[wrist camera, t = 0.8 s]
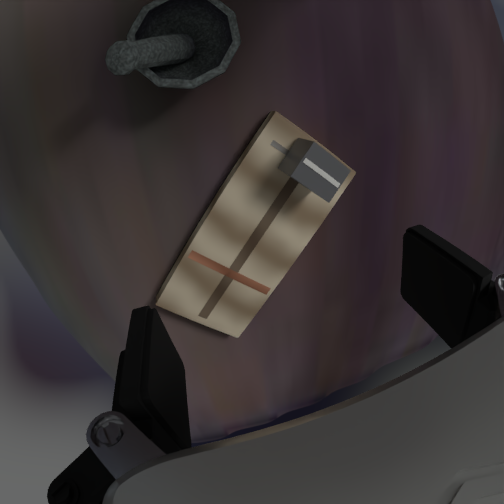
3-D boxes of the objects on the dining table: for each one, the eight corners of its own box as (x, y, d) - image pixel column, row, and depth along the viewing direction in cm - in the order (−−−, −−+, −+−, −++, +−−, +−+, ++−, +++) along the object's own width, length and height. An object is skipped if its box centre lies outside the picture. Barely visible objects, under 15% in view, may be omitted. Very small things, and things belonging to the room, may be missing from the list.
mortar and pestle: (204, 0, 25) (216, -50, 14) (245, 65, 29) (277, 42, 18) (111, 50, 25) (76, 21, 14) (152, 117, 29) (134, 118, 19)
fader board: (270, 111, 32) (276, 111, 30) (348, 169, 36) (356, 172, 34) (156, 296, 38) (155, 305, 36) (235, 328, 43) (238, 338, 41)
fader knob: (298, 137, 31) (314, 141, 27) (331, 163, 33) (351, 170, 29) (277, 168, 32) (290, 176, 28) (312, 192, 34) (329, 203, 30)
